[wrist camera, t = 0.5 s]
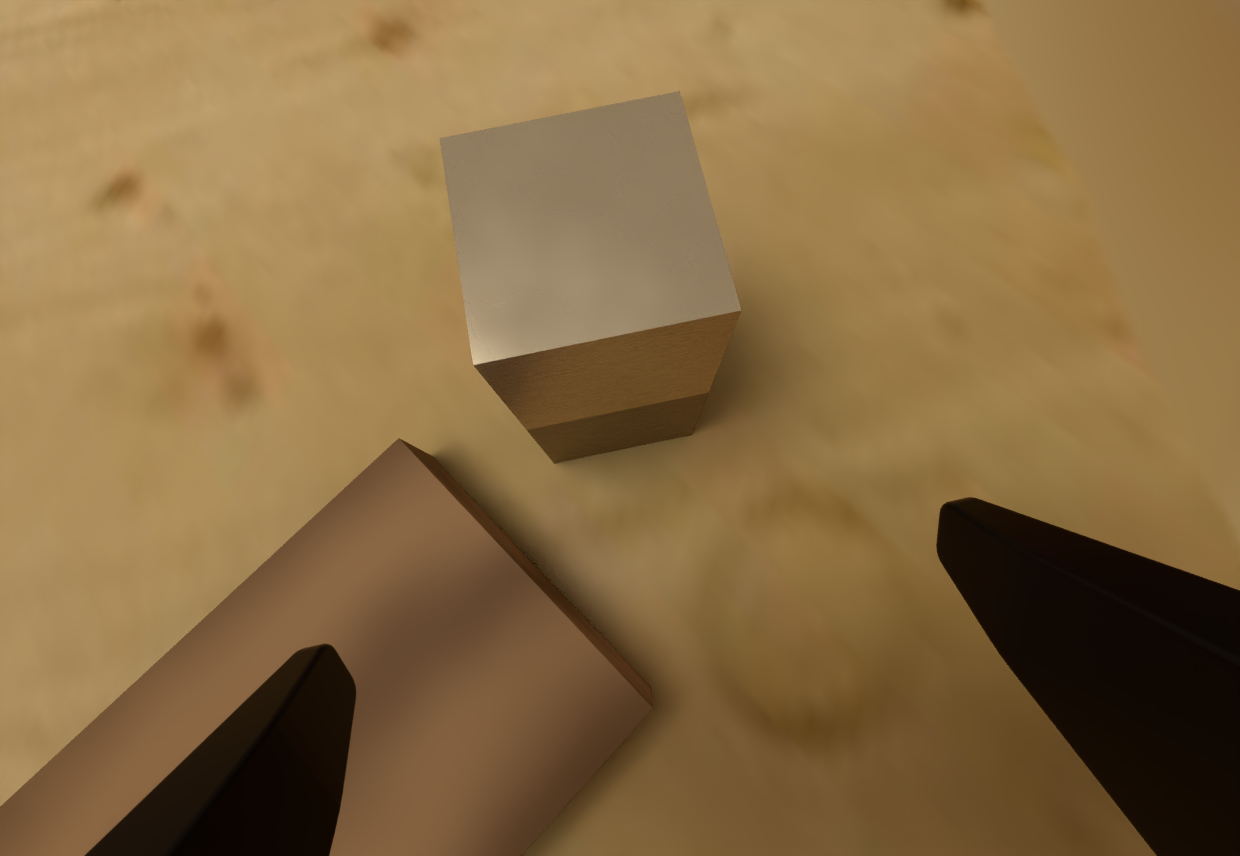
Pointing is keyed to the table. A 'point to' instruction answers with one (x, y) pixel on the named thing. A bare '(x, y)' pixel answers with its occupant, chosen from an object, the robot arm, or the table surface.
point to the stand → (375, 682)
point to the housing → (592, 273)
